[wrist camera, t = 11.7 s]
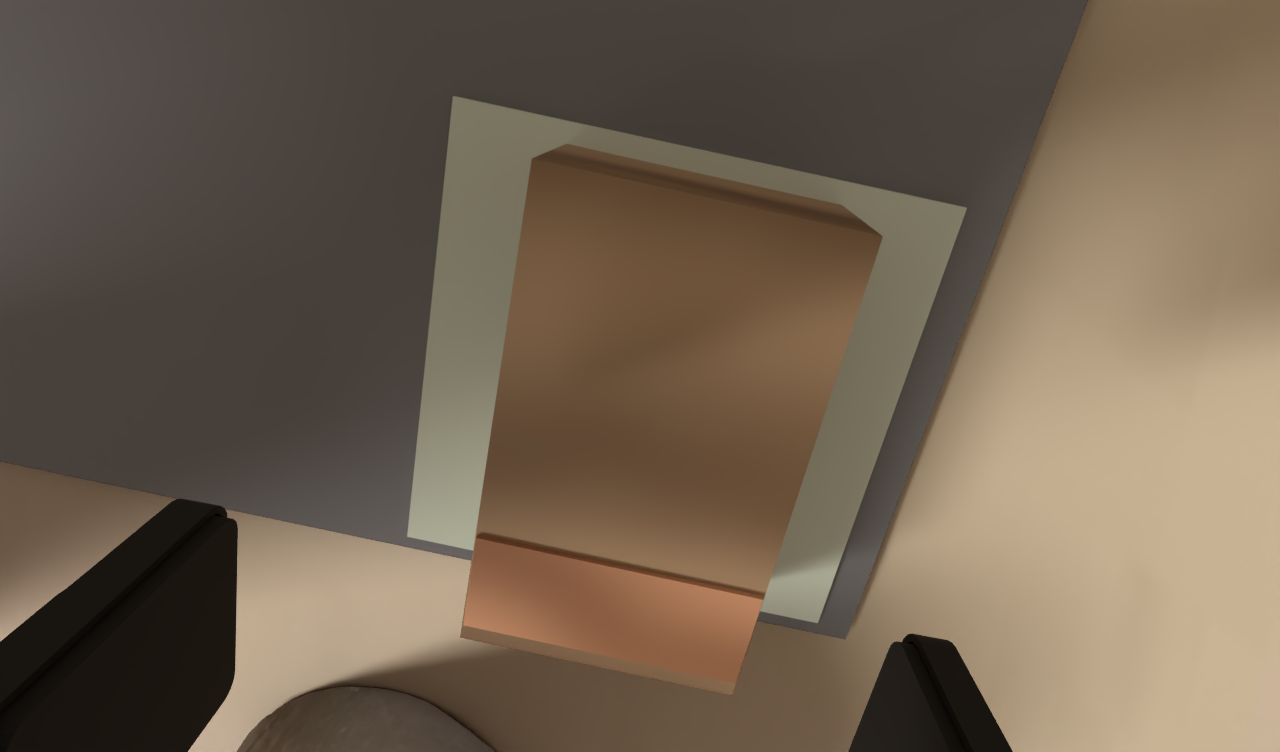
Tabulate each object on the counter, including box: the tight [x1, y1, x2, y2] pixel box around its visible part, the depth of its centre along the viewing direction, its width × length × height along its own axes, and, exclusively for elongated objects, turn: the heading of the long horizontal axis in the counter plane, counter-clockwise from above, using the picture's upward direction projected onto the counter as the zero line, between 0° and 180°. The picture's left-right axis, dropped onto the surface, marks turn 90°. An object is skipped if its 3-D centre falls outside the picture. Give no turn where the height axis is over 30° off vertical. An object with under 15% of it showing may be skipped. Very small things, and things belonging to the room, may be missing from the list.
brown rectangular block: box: [460, 144, 883, 695], centre depth 17 cm, size 11×6×4 cm, turn 168°
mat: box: [0, 0, 1088, 639], centre depth 18 cm, size 26×20×1 cm
